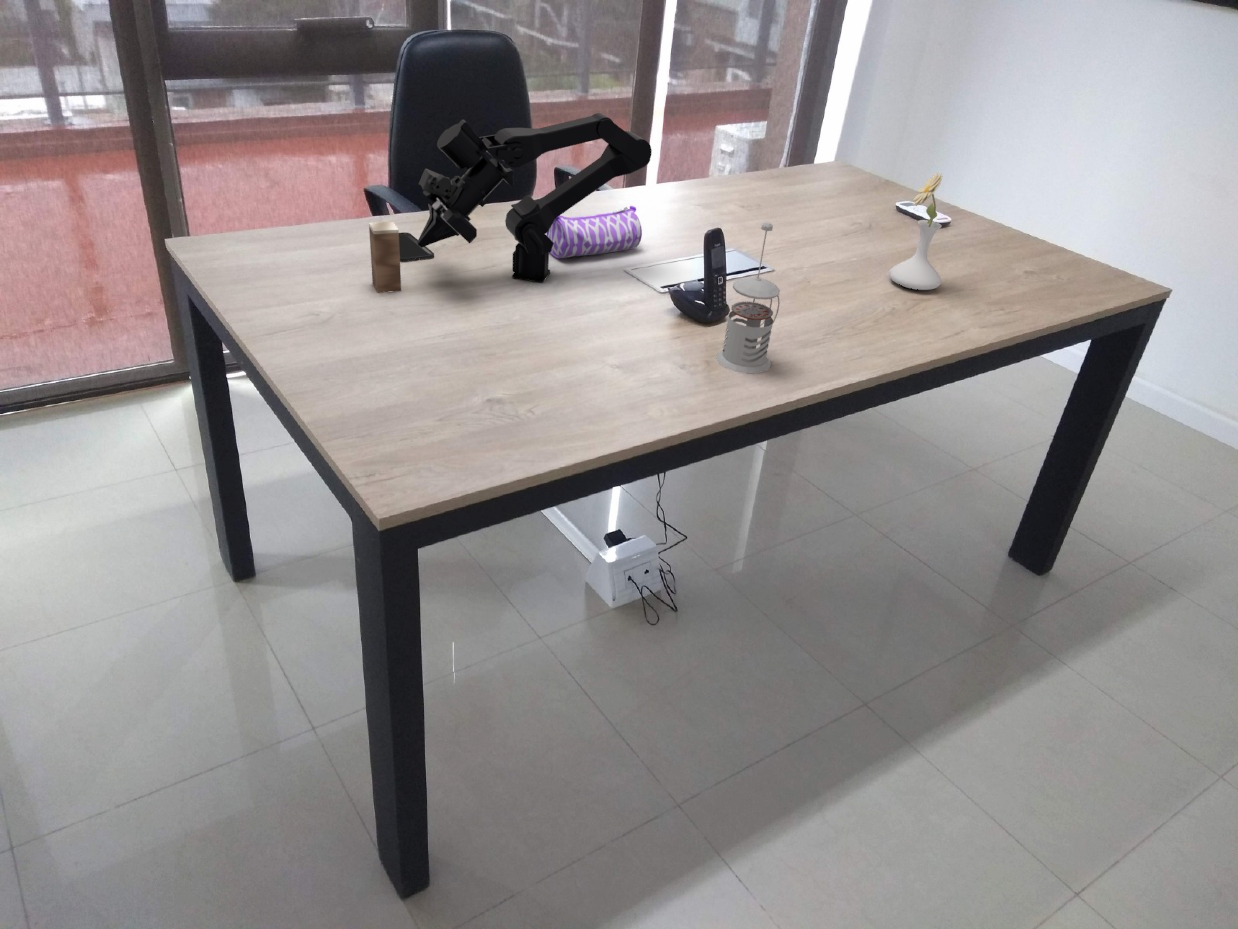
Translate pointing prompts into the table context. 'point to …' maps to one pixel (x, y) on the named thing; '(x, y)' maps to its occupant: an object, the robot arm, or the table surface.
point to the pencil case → (595, 233)
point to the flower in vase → (921, 246)
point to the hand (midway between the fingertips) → (419, 245)
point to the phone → (412, 249)
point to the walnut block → (385, 256)
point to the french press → (750, 324)
